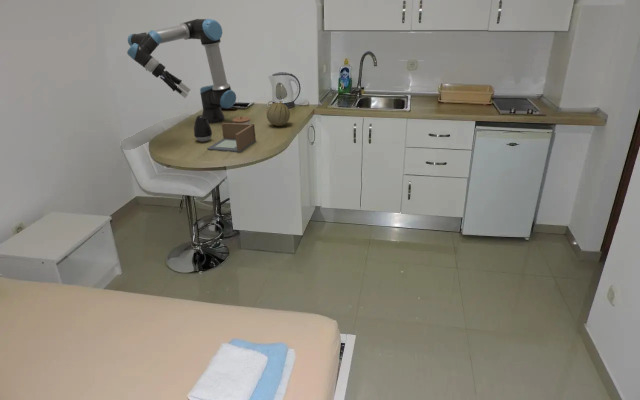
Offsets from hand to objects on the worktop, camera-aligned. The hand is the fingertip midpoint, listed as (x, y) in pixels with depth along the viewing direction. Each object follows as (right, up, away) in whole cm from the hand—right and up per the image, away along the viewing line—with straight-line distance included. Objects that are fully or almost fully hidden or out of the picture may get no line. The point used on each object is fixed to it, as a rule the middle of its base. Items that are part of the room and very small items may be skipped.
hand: (188, 93), depth 251 cm
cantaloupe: (+48, -12, +35) cm, 61 cm away
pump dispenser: (+6, -25, +12) cm, 28 cm away
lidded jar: (+26, -17, +27) cm, 41 cm away
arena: (+25, -29, +2) cm, 38 cm away
